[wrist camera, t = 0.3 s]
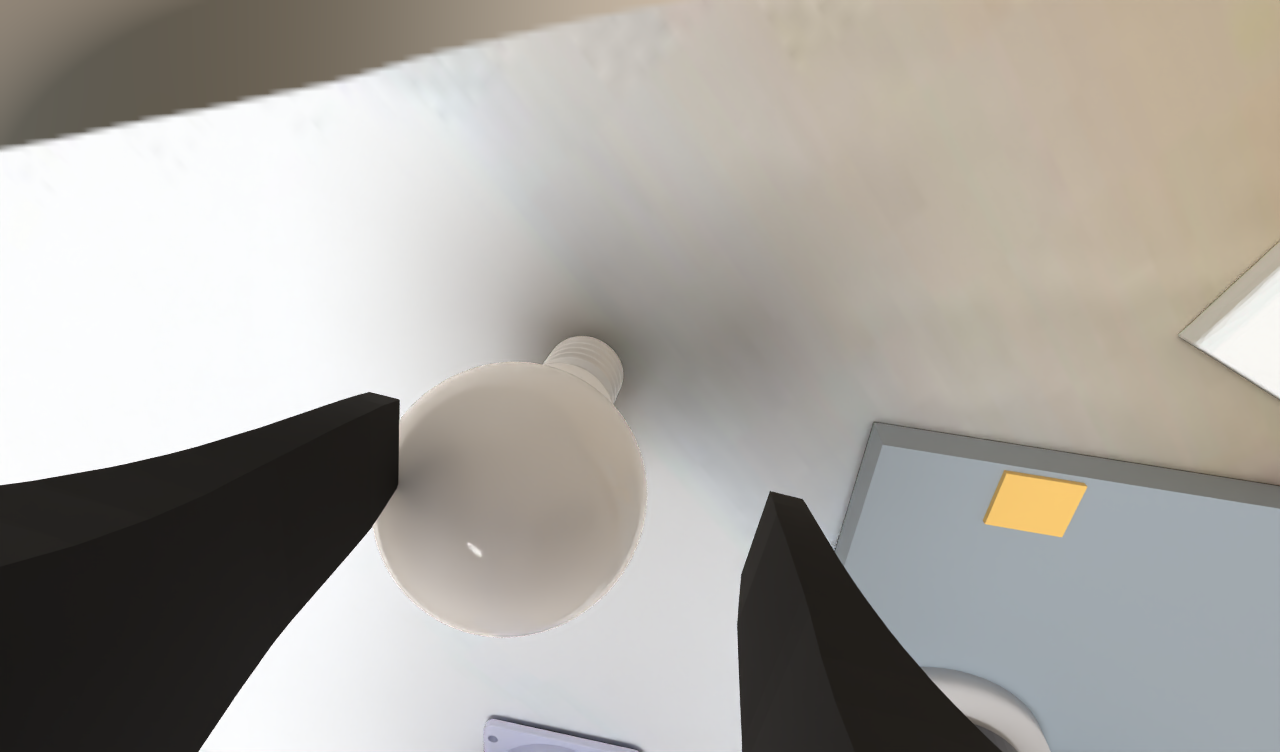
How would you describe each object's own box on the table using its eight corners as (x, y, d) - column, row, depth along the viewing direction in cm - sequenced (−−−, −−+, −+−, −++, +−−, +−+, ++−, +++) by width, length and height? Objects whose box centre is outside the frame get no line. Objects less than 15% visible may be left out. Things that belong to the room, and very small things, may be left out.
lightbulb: (680, 445, 23) (628, 720, 13) (515, 438, 24) (349, 686, 14) (677, 277, 20) (610, 458, 10) (492, 276, 21) (266, 441, 11)
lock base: (1174, 854, 27) (1212, 922, 25) (769, 767, 29) (771, 823, 27) (1461, 515, 19) (1555, 570, 17) (873, 421, 21) (889, 461, 19)
